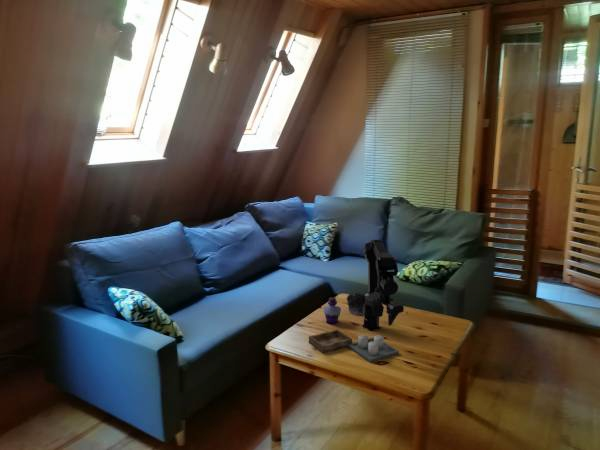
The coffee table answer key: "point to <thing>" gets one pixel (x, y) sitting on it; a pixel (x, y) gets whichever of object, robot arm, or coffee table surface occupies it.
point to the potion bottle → (332, 311)
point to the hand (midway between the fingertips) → (382, 321)
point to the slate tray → (382, 353)
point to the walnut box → (330, 341)
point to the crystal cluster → (356, 303)
